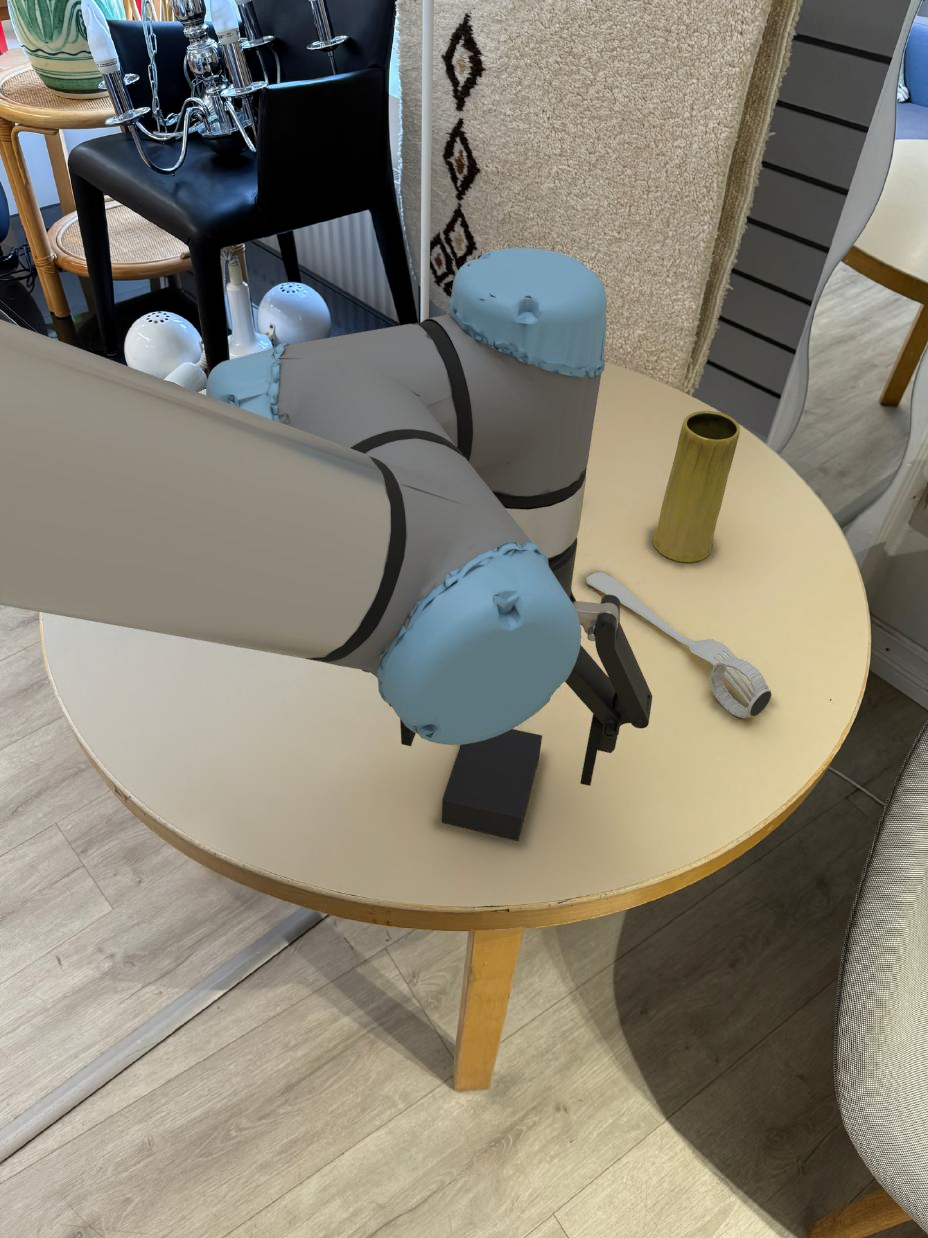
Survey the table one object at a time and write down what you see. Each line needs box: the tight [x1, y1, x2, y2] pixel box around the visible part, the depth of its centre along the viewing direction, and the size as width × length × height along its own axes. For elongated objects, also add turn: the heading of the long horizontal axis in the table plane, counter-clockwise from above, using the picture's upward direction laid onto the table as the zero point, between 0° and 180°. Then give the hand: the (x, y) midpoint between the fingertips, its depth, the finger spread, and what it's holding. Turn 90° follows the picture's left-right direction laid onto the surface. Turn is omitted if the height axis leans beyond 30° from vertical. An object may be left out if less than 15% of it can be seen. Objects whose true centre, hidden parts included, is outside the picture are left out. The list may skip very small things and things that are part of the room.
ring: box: [709, 656, 772, 719], centre depth 76 cm, size 3×5×5 cm, turn 36°
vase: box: [652, 410, 741, 563], centre depth 89 cm, size 6×6×14 cm
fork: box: [585, 571, 754, 705], centre depth 84 cm, size 3×21×3 cm, turn 39°
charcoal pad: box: [441, 728, 543, 841], centre depth 70 cm, size 6×8×3 cm
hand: (498, 751), depth 68 cm, fingers open, 13 cm apart
